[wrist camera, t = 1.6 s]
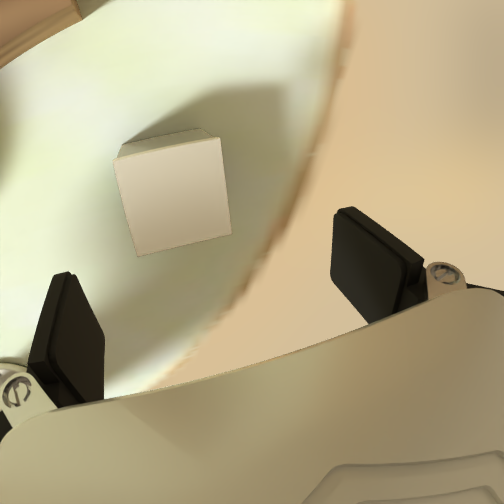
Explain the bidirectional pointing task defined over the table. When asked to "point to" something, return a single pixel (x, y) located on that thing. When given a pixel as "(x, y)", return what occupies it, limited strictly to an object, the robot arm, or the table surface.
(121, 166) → the beige cube
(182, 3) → the table surface
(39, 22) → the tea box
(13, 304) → the table surface
